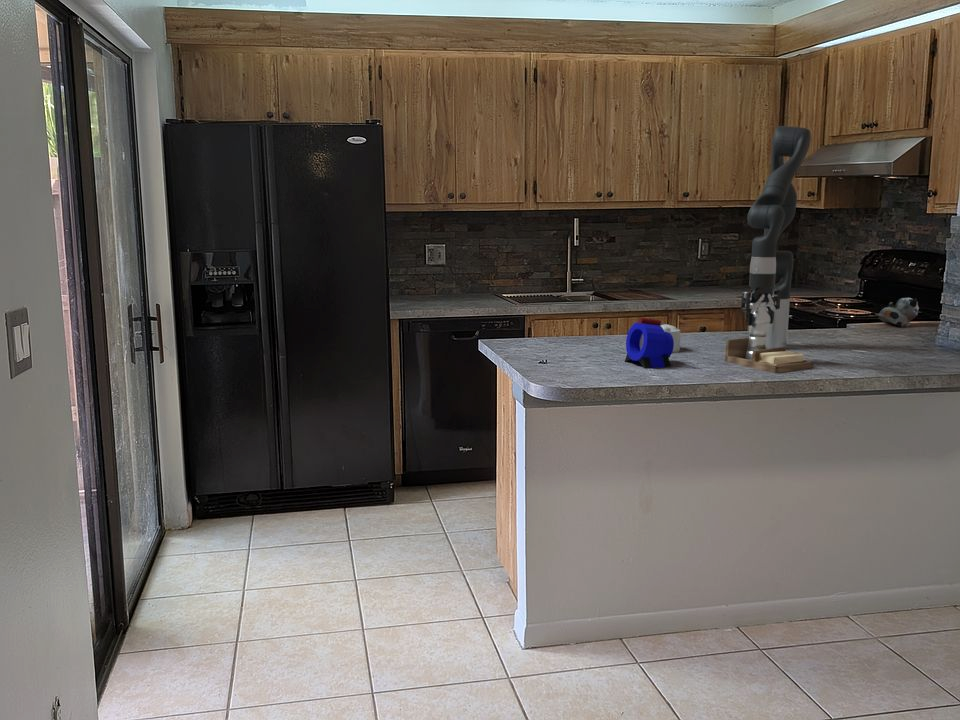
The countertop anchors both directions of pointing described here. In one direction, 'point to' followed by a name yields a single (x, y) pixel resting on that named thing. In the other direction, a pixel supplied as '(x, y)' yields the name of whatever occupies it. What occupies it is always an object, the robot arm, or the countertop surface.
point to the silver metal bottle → (758, 330)
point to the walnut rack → (738, 356)
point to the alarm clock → (649, 344)
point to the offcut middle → (779, 363)
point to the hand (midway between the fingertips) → (759, 324)
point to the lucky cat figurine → (900, 312)
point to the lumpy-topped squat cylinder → (673, 335)
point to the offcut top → (781, 357)
